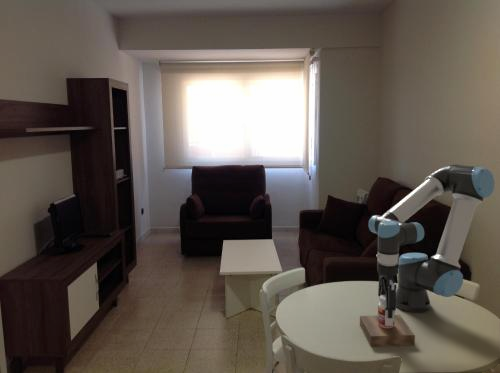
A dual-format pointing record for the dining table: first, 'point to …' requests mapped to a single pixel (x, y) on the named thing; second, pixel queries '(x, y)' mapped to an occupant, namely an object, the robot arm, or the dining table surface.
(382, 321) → the pill bottle
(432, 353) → the dining table surface
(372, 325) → the walnut block
